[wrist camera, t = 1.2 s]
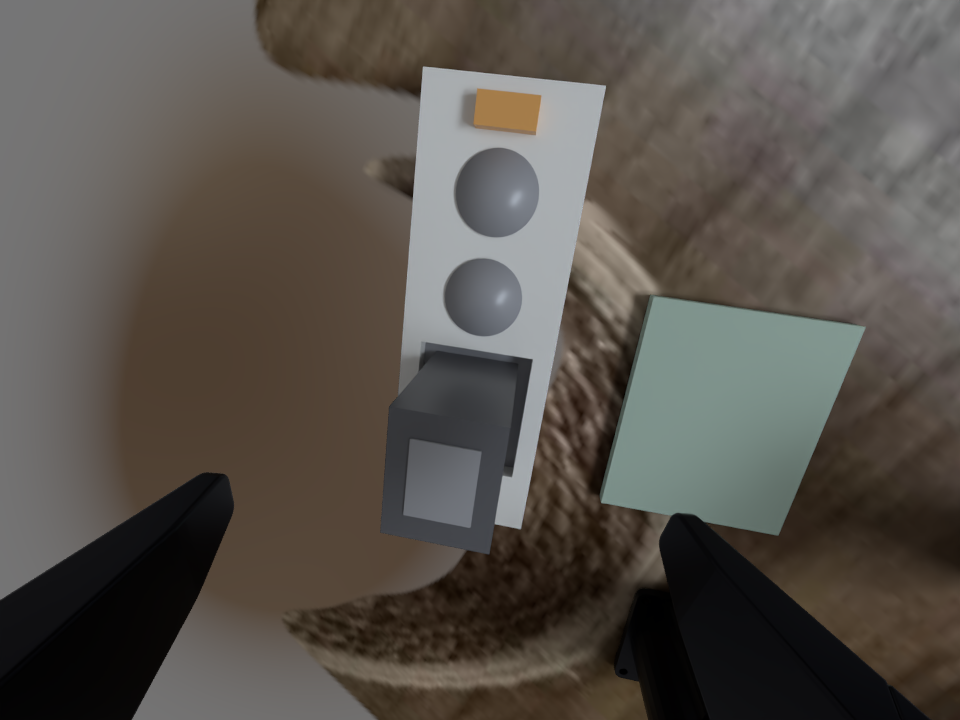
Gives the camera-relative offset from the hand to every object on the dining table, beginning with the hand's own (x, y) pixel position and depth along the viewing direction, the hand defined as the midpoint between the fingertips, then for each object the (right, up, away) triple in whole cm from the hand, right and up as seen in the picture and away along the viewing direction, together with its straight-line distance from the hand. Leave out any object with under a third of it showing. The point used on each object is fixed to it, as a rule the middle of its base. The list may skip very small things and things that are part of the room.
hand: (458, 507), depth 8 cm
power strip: (+1, +5, +12) cm, 13 cm away
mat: (+12, 0, +12) cm, 17 cm away
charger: (0, +1, +12) cm, 12 cm away
